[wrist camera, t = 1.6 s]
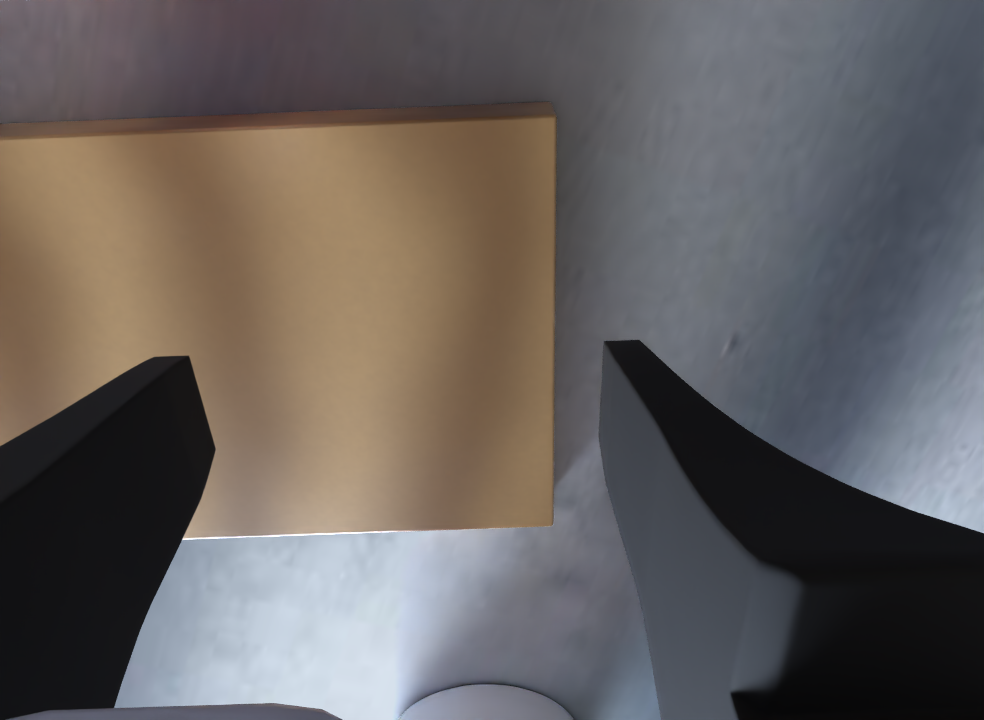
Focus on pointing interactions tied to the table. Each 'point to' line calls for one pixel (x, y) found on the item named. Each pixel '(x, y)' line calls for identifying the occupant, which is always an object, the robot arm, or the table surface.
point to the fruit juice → (486, 705)
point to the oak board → (302, 303)
